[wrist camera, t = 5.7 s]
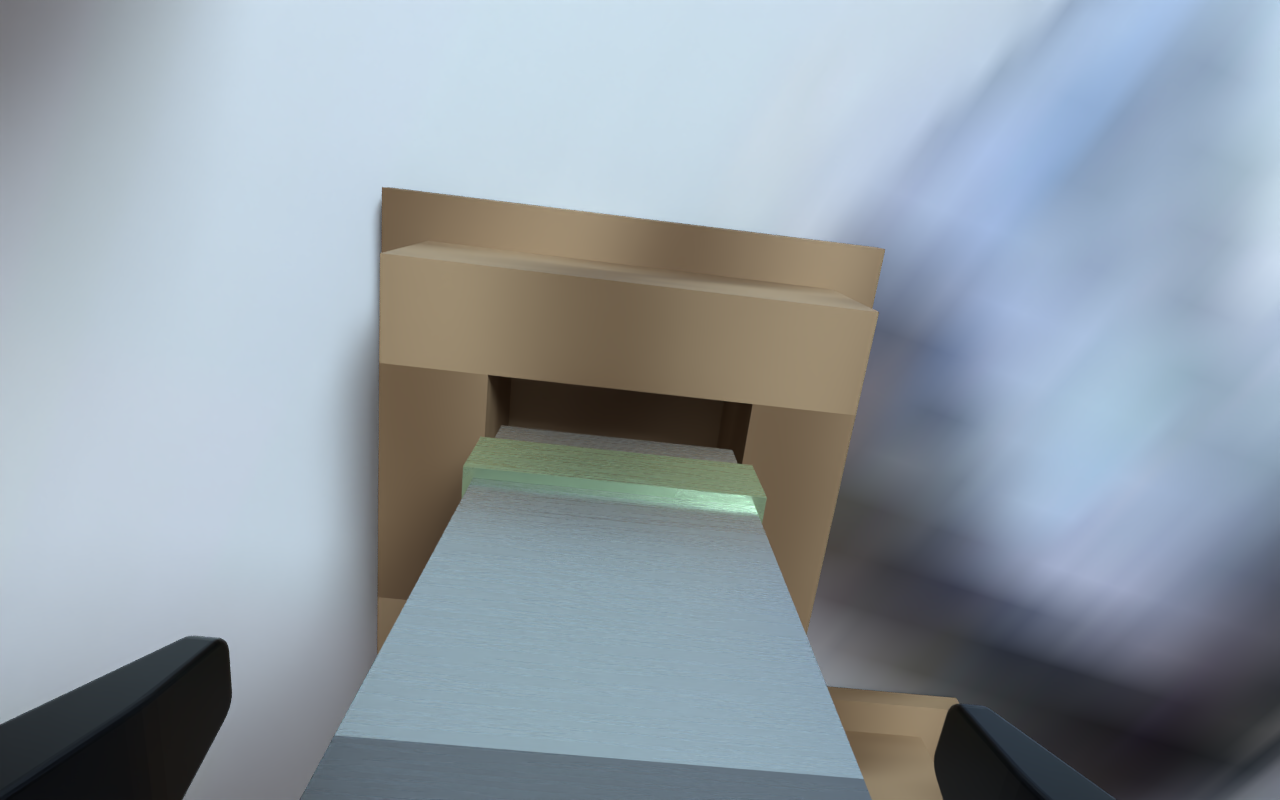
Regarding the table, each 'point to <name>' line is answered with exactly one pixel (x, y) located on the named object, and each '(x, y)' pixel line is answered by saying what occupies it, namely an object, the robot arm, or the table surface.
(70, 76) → the table surface
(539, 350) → the marked collar
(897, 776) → the wooden square base
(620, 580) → the marked post
